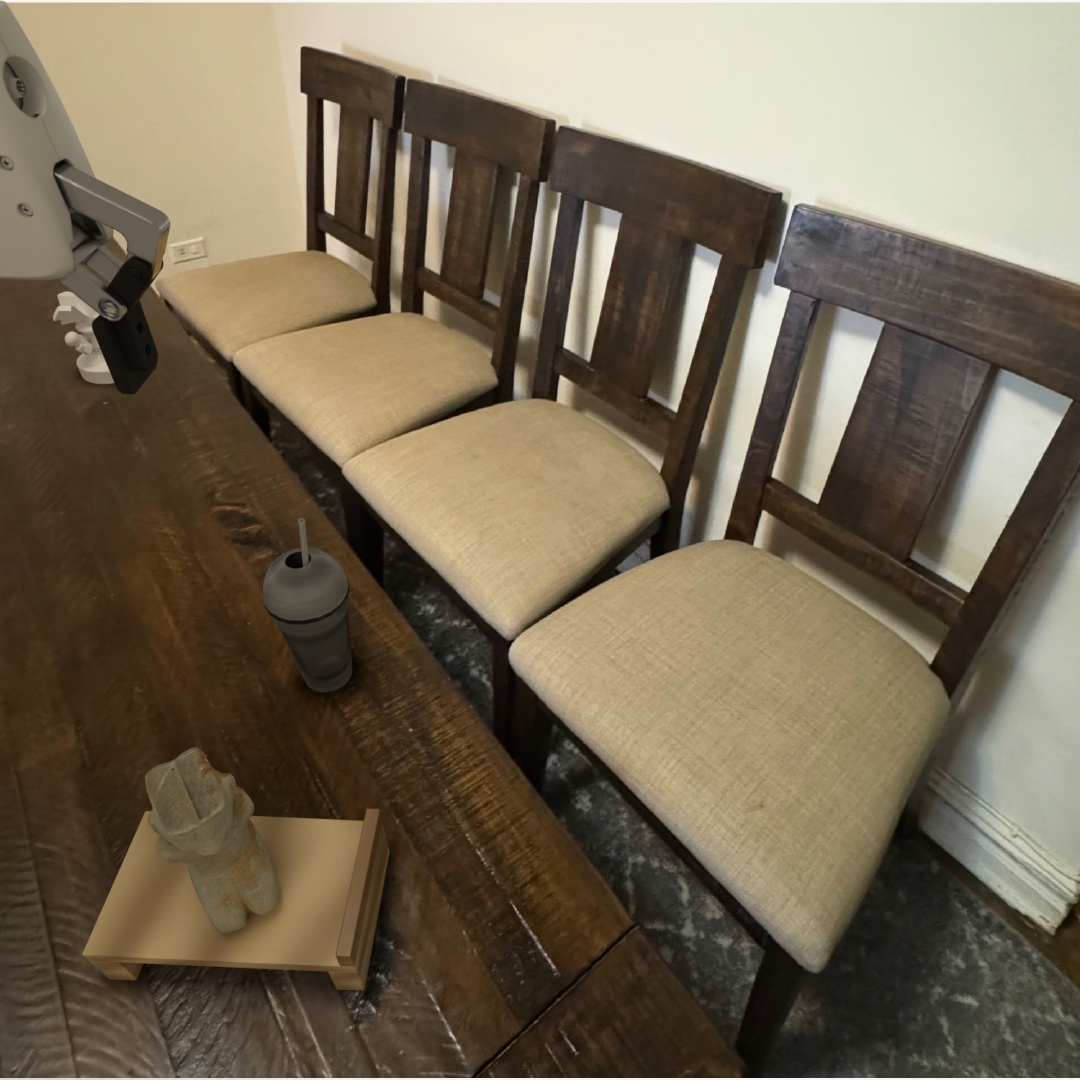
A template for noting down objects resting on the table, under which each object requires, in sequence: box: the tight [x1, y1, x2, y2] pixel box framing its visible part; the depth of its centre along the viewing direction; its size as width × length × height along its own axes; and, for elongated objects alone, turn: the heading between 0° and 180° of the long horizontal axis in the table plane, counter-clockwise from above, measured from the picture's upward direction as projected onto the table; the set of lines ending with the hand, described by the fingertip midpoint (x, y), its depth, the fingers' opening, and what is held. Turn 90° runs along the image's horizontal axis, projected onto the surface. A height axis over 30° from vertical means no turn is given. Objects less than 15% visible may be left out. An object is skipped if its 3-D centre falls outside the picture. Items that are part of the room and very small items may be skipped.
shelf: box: [81, 808, 390, 992], centre depth 53 cm, size 18×10×7 cm, turn 88°
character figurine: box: [52, 291, 115, 385], centre depth 107 cm, size 9×10×12 cm
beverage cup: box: [262, 517, 353, 693], centre depth 65 cm, size 7×7×20 cm
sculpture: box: [144, 746, 281, 933], centre depth 47 cm, size 6×7×15 cm
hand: (46, 376), depth 38 cm, fingers open, 9 cm apart
